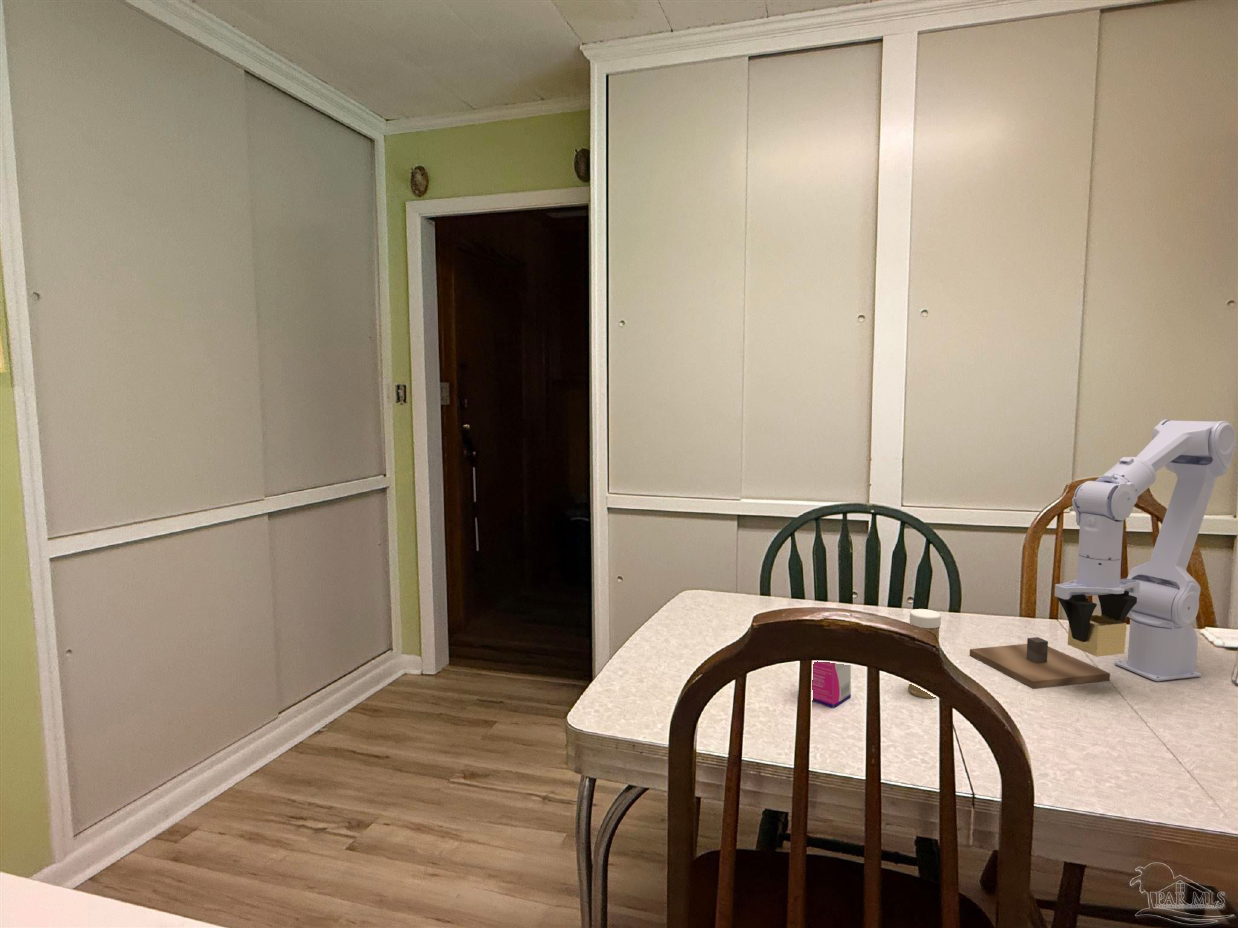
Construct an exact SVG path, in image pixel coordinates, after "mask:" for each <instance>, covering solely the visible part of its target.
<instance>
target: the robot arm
mask: <svg viewBox="0 0 1238 928" xmlns="http://www.w3.org/2000/svg"><path fill="white" fill-rule="evenodd" d="M1236 447H1237V438H1236V431H1235V429H1234V427H1233V426H1232V424H1231V423H1230V422H1229V421H1227V420H1219V421H1211V420H1210V421H1207V420H1206V421H1205V420H1204V421H1202V420H1201V421H1200V420H1172V419H1167V418H1166V419H1162V420H1161V421H1160V422H1159V423H1157V425H1155V426H1154V427H1153V431H1152V435H1151V441H1150V442H1149V443H1148V444H1146V446H1145V447H1144V448H1143V449H1142V450H1141V451H1140V452H1139V453H1138V454H1137V455H1136V456H1123V457H1122V458H1120V459H1119V460H1118V462H1117V463H1115V465H1113V466H1112V467H1111V468H1109V469H1108V470H1107V471H1106V472H1105V473H1103V474H1102V475H1101V476H1099V477H1098V478H1097V479H1096V480H1095V481H1094V480H1087V481H1085V482H1084V483H1081V484H1079V485H1078V486H1077V487H1076V489H1075V492H1074V494H1073V498H1072V499H1071V503H1072V508H1073V509H1072V510H1074V512H1075V523H1076V525H1077V526H1079V530H1078V531H1079V532H1078V533H1079V535H1078V549H1077V550H1078V551H1077V554H1078V555H1077V568H1076V569H1077V570H1076V579H1073V580H1069V581H1068V582H1063V583H1056V584H1054V597H1057V600H1058V602H1059V604H1060V605H1061V607H1062V608H1063V611H1064V614H1065V616H1066V618H1067V621H1068V626H1069V625H1070V629H1071V634H1072V638H1073V639H1076V640H1078V641H1081V642H1086V641H1087V638H1088V633H1089V625H1090V620H1091V617H1092V614H1093V613H1095V612H1094V611H1095V609H1096V608H1097V606H1098V604H1097V603H1095V602H1093V601H1090V600H1089V599H1088V598H1087V597H1088V596H1089V597H1091V596H1097V598H1098V601H1099V606H1100V611H1101V613H1100V614H1102V615H1104V616H1107V617H1110V618H1113V619H1116V620H1119V621H1122V622H1125V620H1126V618H1127V617H1128V618H1129V630H1128V631H1129V634H1128V646H1127V647H1128V649H1127V659H1124V660H1115V661H1113V662H1114V664H1115V665H1116V666H1118V667H1121V668H1123V669H1125V670H1128V671H1130V672H1132V673H1135V674H1138V675H1140V676H1141V677H1144V678H1147V679H1150V680H1151V681H1155V682H1161V681H1170V680H1177V679H1179V680H1180V679H1188V678H1189V679H1190V678H1197V677H1201V673H1200V672H1198V671H1196V669H1197V658H1198V646H1199V645H1198V643H1199V639H1198V633H1197V631H1196V630H1195V628H1194V627H1193V626H1192V625H1191V623H1193V622H1194V620H1195V619H1196V618H1197V615H1198V613H1199V608H1200V595H1201V589H1202V588H1201V585H1200V584H1199V582H1197V580H1196V579H1195V578H1194V577H1193V576H1192V575H1191V574H1190V573H1189V572H1188V571H1187V569H1188V568H1187V567H1188V566H1189V563H1190V559H1191V555H1192V553H1193V550H1194V548H1195V544H1196V541H1197V539H1198V535H1199V533H1200V529H1201V526H1202V523H1203V520H1204V517H1205V515H1206V511H1207V509H1208V506H1209V502H1210V499H1211V497H1212V494H1213V490H1214V488H1215V485H1216V482H1217V479H1218V477H1221V476H1224V475H1226V474H1227V473H1228V470H1229V467H1230V465H1231V462H1232V460H1233V456H1234V453H1235V451H1236ZM1164 467H1165V469H1166V470H1168V471H1169V472H1172V473H1174V474H1175V475H1176V477H1177V480H1176V482H1175V485H1174V487H1173V488H1174V489H1173V491H1172V494H1171V497H1170V500H1169V503H1168V506H1167V508H1166V512H1165V515H1164V517H1163V520H1162V522H1161V525H1160V526H1161V527H1160V529H1159V532H1158V535H1157V538H1156V541H1155V544H1154V547H1153V550H1152V553H1151V556H1150V559H1149V560H1148V561H1146V562H1144V563H1140V564H1139V565H1135V566H1134V567H1132V568H1130V570H1129V572H1128V576H1127V577H1126V578H1121V566H1122V565H1121V564H1122V552H1123V534H1124V522H1125V521H1124V520H1126V519H1128V518H1129V517H1131V514H1132V512H1133V509H1134V507H1135V505H1136V503H1137V502H1138V500H1139V499H1138V497H1139V496H1141V494H1143V493H1144V492H1145V491H1147V489H1149V488H1150V487H1151V486H1152V485H1153V484H1155V482H1156V480H1157V474H1156V473H1157V472H1158V471H1159V470H1161V469H1162V468H1164Z"/></svg>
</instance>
